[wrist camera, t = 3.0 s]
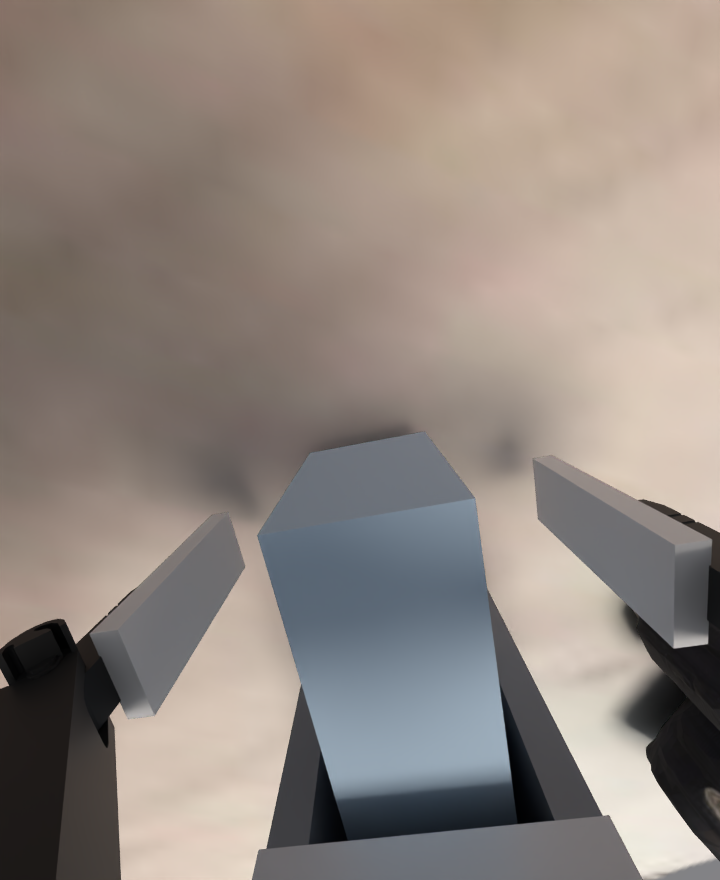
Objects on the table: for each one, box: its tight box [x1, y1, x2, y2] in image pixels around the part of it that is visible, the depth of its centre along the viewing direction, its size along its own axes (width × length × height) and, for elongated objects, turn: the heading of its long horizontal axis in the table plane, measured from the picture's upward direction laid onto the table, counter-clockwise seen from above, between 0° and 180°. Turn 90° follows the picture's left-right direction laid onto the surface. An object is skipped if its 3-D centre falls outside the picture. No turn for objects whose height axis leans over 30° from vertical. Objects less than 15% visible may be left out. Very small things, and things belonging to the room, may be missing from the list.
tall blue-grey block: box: [257, 431, 517, 841], centre depth 13 cm, size 18×5×7 cm, turn 11°
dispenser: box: [252, 590, 643, 880], centre depth 14 cm, size 14×9×13 cm, turn 11°
